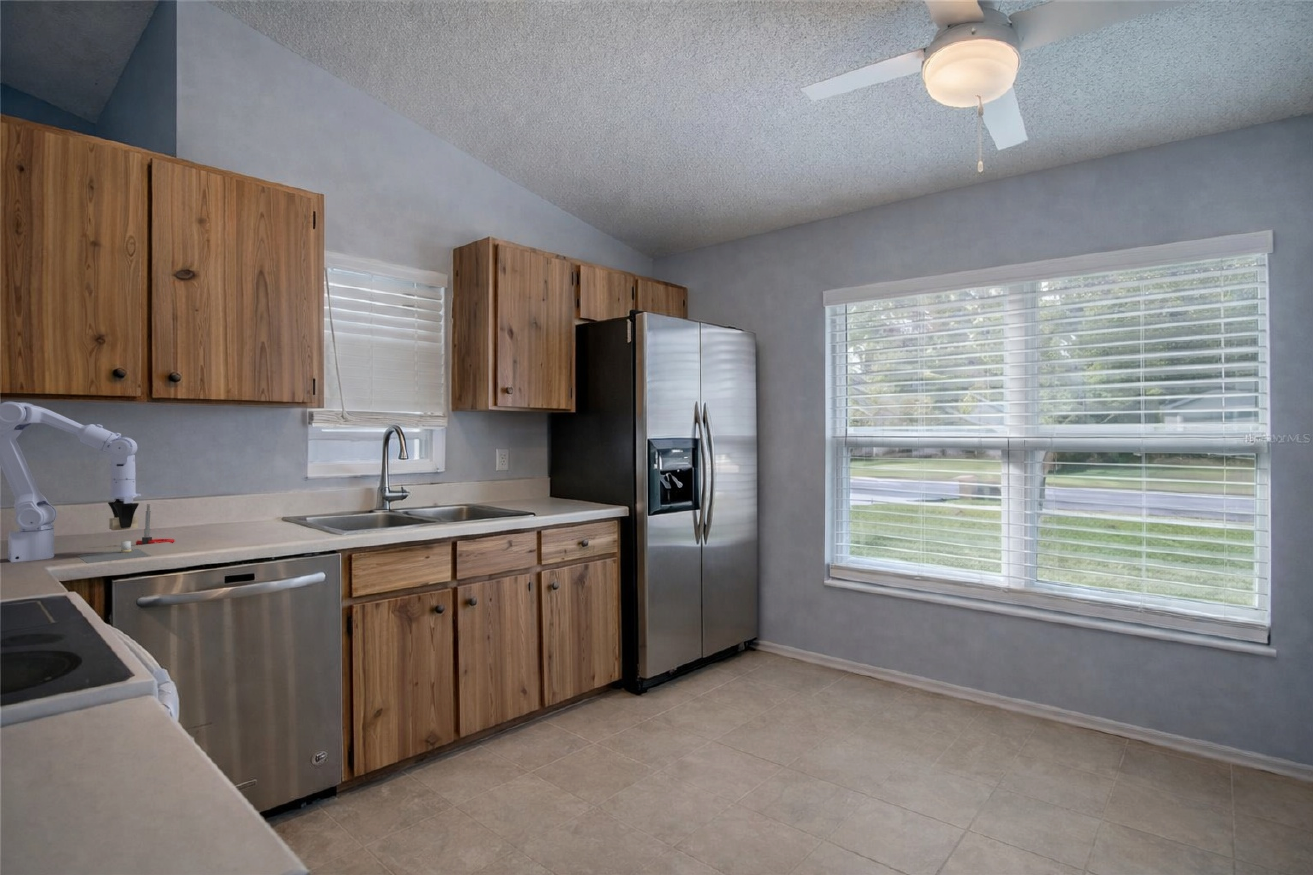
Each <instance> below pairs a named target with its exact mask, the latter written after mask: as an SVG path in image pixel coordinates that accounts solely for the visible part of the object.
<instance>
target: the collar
mask: <svg viewBox="0 0 1313 875" xmlns="http://www.w3.org/2000/svg"><path fill="white" fill-rule="evenodd" d="M108 520H109V521H108V522H109V525H108V526H109V527H108V528H109V530H111V531H124V530H134V529H139V518H138V517H136V516H135V515H134V516H133V520H132V524H131V527H130V528H121V526H120V522H119V517H117V518H114V517H109V519H108Z"/></svg>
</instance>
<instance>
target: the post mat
mask: <svg viewBox="0 0 1313 875" xmlns="http://www.w3.org/2000/svg"><path fill="white" fill-rule="evenodd" d="M120 545H121V546H120V548H121V549H120V550H115V551H105V552H104V551H103V552H95V553H85V554H77V555H76V556H77V557H78V558H79V559H80V560H82V561H84V562H85V563H86V564H90V563H91V564H92V563H100V562H102V563H103V562H109V561H110V562H111V561H119V560H127V559H137V558H147V557H151V556H152V555H150V554H149V553H146V552H145V551H143V550H141V549H139V548H133V549H132V541H130V540H126V541H121V543H120Z"/></svg>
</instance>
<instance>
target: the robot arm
mask: <svg viewBox="0 0 1313 875" xmlns="http://www.w3.org/2000/svg"><path fill="white" fill-rule="evenodd" d="M32 424H45V425H48V426H50V427H53V428H55V429H59V430H60V431H64V432H67V433H69V434H73V435H75V436H76V437H77V438H78V440H79V442H80V443H82V444H85V445H87V446H90V447H92V448H94V449H97V450H100V451H102V452H107V454H108V455H109V456H110V464H109V465H110V466H109V467H110V468H109V470H110V473H109V475H110V476H109V477H110V479H109V480H110V494H109V499H113V500H114V501H109V502H107V504H108V506H109V508H110V509H111V512H112V514H113V518H117V517H119V522H120V526H121V528H130V527H131V524H132V520H133V516H134V517H135V512H136V511H137V509H138V508H139V505H140V503H139V502H134V499H135V498H137V497H141V496H142V494H141V493H137V490H136V485H137V483H136V479H137V478H136V476H137V474H136V455H135V454H136V453H137V451H138V449H139V448H138V444H137V442H136V441H135V440H134V439H132V438H131V437H129V436H123V437H122V433H120V432H113V431H110V430H108V429H106V428H103V427H104V426H103V425H102V424H99V423H97V424H93V423H91V424H86V425H84V424H82V423H79V422H77V421H75V420H73V419H69V418H68V417H66V416H64V415H62V414H59V413H58V412H56V411H52V410H51V409H48V408H45V407H43V406H39V405H34V404H33V403H29V402H16V401H4V402H1V403H0V468H1V470H2V472H3V475H4V477H5V479H6V481H7V484H8V486H9V488H10V490H11V493H12V494H13V496H14V497H13V498H14V504H13V508H14V511H15V515H14V516H15V517H14V521H15V524H16V525H17V526H18V527H19V528H18V530H14V531H9V532H8V536H7V538H8V541H7V542H8V544H7V546H8V547H7V550H8V552H7V560H8V561H9V562H10V563H17V562H26V561H27V562H29V561H38V560H40V561H41V560H48V559H52V558H54V557H55V526H54V525H53V522H55V521H56V519H57V517H58V510H57V508H56V507H55V506H54V505H52V504H50V503H49V501H48V499H47V497H46V496H45V495H43V494H42V493H41V492H40V489H39V487H38V486H37V482H36V480H35V479H34V475H32V472H31V470H30V466H29V465H28V463H27V460H26V457H25V456H24V454H23V451H22V449H21V447H20V444H19V443H18V441H17V438H18V437H19V436H20V435H21V433H22V432H23V431H24V430H25V429H27V428H28V427H30V426H31V425H32Z"/></svg>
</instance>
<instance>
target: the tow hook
mask: <svg viewBox="0 0 1313 875" xmlns="http://www.w3.org/2000/svg"><path fill="white" fill-rule="evenodd" d="M150 508H151V504H149V503H148V504H146V511H145V520H144V521H145V522H144V529H143V537H141V540H140V539H138V540H136V541H135V545H137V546H143V545H152V544H153V545H154V544H162V543H170V544H173V543H175V541H176V540H175V539H173V538H155V539H153V536H151V509H150ZM172 542H173V543H172Z"/></svg>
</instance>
